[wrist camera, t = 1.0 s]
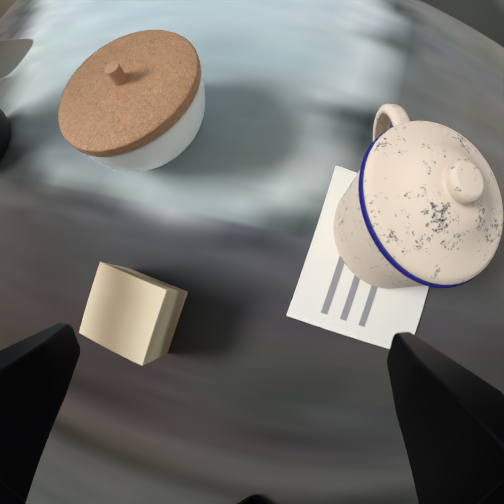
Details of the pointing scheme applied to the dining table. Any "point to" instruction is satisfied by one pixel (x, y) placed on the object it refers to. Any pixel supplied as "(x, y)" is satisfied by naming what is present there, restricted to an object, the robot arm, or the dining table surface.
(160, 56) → the lidded jar
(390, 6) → the dining table surface
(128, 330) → the beech block
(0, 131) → the cola bottle
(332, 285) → the letter
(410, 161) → the teacup with lid
